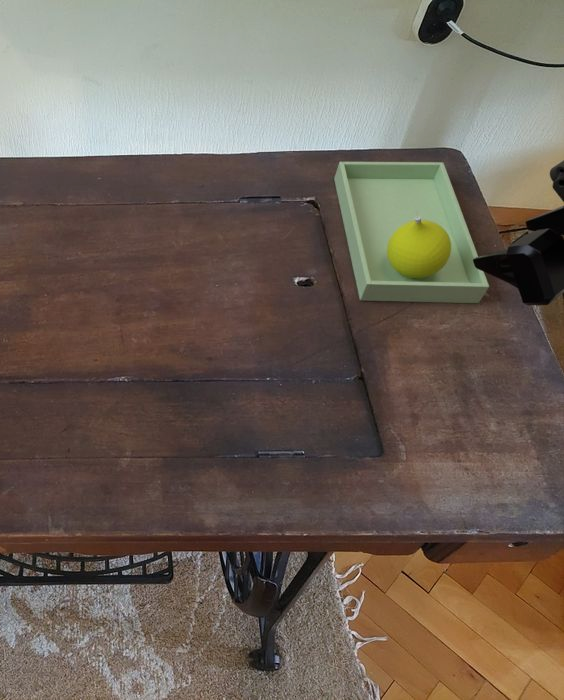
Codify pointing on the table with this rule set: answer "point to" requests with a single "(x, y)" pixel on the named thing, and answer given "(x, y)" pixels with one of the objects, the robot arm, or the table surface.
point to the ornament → (419, 248)
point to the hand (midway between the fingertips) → (501, 243)
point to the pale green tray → (391, 213)
